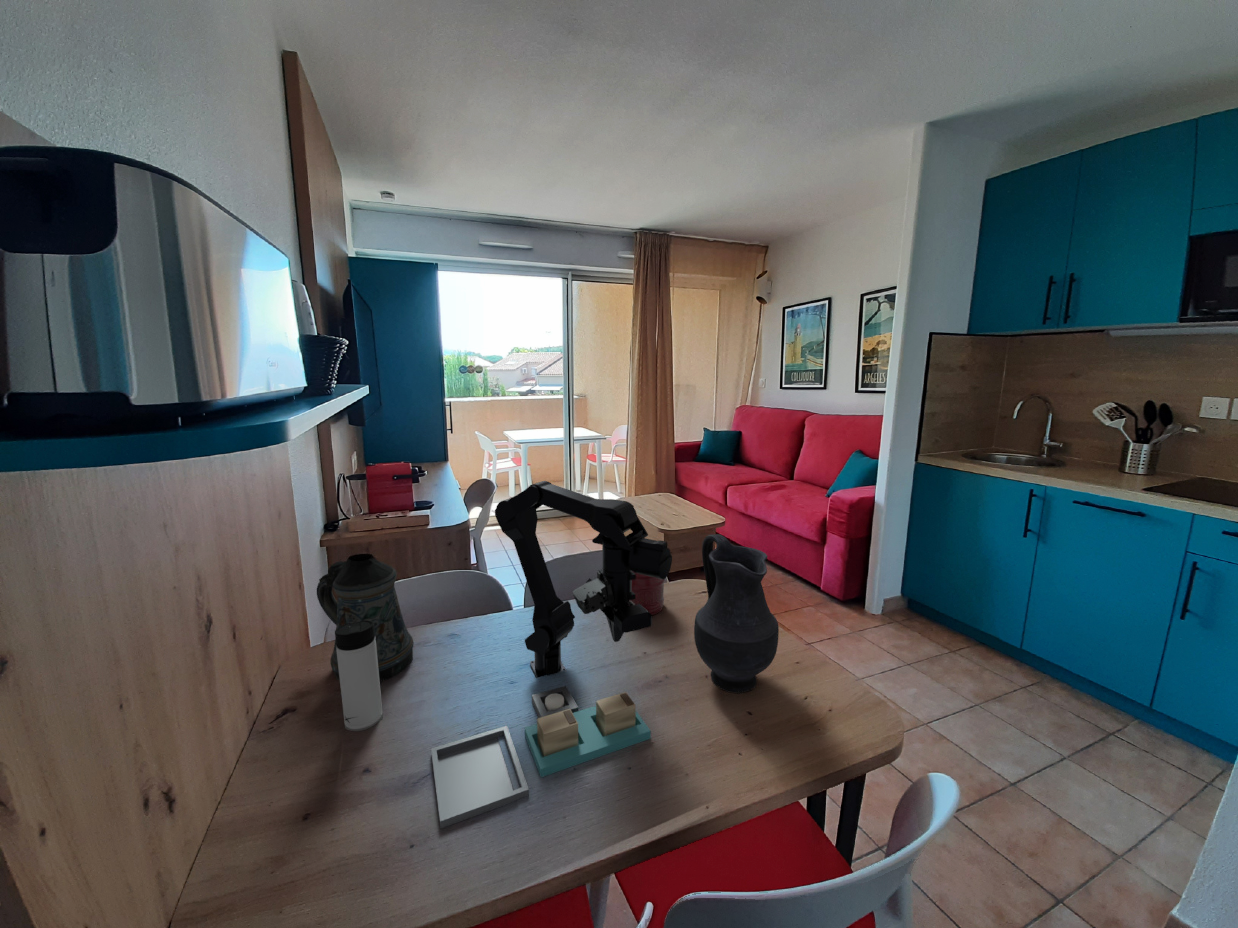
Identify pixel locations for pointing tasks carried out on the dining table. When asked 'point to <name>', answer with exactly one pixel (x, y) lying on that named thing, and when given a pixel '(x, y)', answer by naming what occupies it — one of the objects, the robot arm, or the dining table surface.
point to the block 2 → (615, 714)
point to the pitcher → (735, 616)
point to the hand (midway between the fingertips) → (616, 640)
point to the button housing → (541, 711)
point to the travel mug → (359, 675)
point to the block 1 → (557, 732)
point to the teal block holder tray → (585, 742)
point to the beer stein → (368, 609)
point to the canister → (648, 592)
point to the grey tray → (474, 776)
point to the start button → (554, 702)
